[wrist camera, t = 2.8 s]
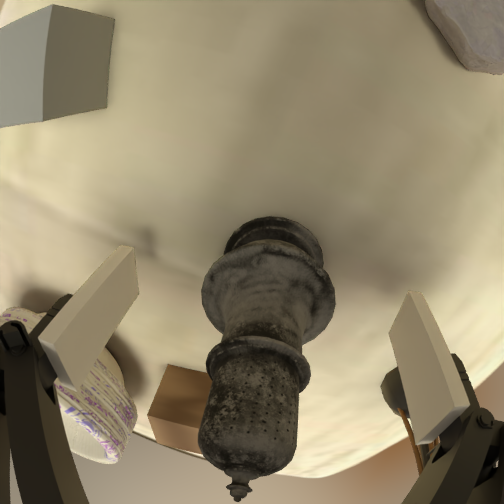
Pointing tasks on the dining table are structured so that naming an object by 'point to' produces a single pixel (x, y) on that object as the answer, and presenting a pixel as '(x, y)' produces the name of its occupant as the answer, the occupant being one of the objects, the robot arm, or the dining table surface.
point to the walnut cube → (179, 407)
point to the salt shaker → (261, 346)
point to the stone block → (472, 31)
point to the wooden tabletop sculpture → (404, 414)
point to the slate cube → (54, 65)
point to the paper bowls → (91, 403)
